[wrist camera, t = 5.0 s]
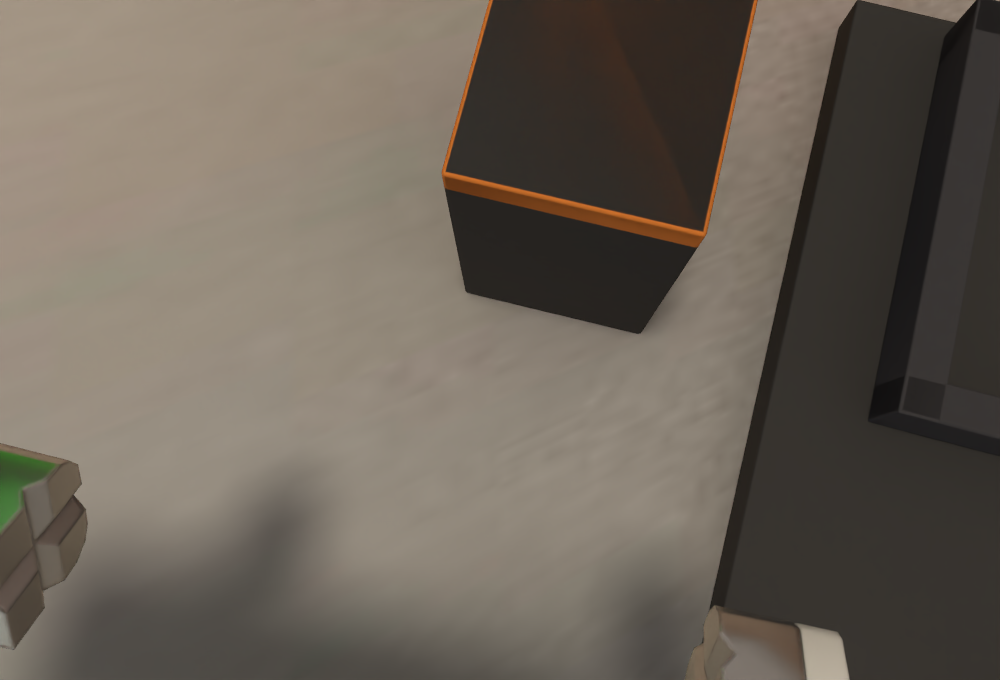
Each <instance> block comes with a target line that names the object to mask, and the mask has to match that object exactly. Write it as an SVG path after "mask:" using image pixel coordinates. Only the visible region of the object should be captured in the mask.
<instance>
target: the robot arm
mask: <svg viewBox="0 0 1000 680" xmlns="http://www.w3.org/2000/svg"><path fill="white" fill-rule="evenodd" d="M81 484H82V482H81V477H80V472H79V467H78V464H76V463H73V462H71V461H69V460H65V459H61V458H57V457H53V456H49V455H45V454H41V453H37V452H33V451H29V450H25V449H21V448H17V447H13V446H9V445H5V444H1V443H0V647H2V648H7V649H12V650H14V649H15V648H16V646H17V645H18V644H19V642H20V641H21V640H22V638H23V637H24V635H25V634H26V633H27V631H28V630H29V629H30V627H31V626H32V624H33V623H34V622H35V620H36V619H37V618H38V616H39V615H40V614H41V612H42V611H43V609H44V608H45V605H44V596H43V591H44V590H46V589H48V588H50V587H52V586H54V585H56V584H58V583H60V582H62V581H64V580H65V579H66V577H67V576H68V575H69V573H70V572H71V570H72V569H73V567H74V566H75V564H76V563H77V561H78V558H79V556H80V553H81V551H82V548H83V546H84V543H85V541H86V533H87V524H88V522H87V515H86V509H85V508H84V507H83V505H82V504H81V503H80V502H79V501H78V500H77V498H76V497H75V496H74V495H73V494H74V493H75V492H76V491H77V489H78V488H79V487H80V485H81ZM685 680H850V679H849V673H848V668H847V662H846V656H845V651H844V645H843V640H842V638H841V637H840V635H839V634H838V632H836V631H831V630H826V629H822V628H817V627H813V626H808V625H804V624H799V623H795V624H794V623H793V622H792V621H787V620H782V619H777V618H773V617H768V616H763V615H759V614H754V613H749V612H745V611H740V610H735V609H731V608H726V607H721V606H717V605H714V606H713V607H712V608H711V610H710V611H709V613H708V615H707V618H706V620H705V622H704V643H703V644H701V645H699V646H697V647H695V648H694V650H693V652H692V655H691V658H690V661H689V663H688V666H687V671H686V675H685Z"/></svg>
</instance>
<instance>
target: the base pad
mask: <svg viewBox="0 0 1000 680" xmlns="http://www.w3.org/2000/svg"><path fill="white" fill-rule="evenodd" d="M714 605H717V606H721V607H726V608H731V609H735V610H740V611H745V612H749V613H754V614H759V615H763V616H768V617H773V618H777V619H782V620H787V621H792V622H793V623H794V624H795V623H799V624H804V625H808V626H813V627H817V628H822V629H826V630H831V631H836V632H838V634H839V635H840V637H841V638H842V640H843V645H844V651H845V656H846V662H847V668H848V673H849V679H850V680H1000V1H995V0H976V1H975V2H974V4H973V5H972V6H971V7H970V8H969V9H968V10H967V11H966V13H965V14H964V15H963V16H962V17H961V18H960V19H959V20H958V22H957V23H955V22H950V21H946V20H942V19H938V18H933V17H929V16H925V15H921V14H916V13H912V12H908V11H904V10H899V9H895V8H891V7H887V6H882V5H878V4H874V3H870V2H865V1H861V0H857V1H856V3H855V4H854V6H853V7H852V9H851V10H850V12H849V14H848V15H847V17H846V18H845V20H844V21H843V23H842V24H841V26H840V27H839V31H838V36H837V40H836V45H835V49H834V54H833V58H832V63H831V67H830V72H829V76H828V81H827V85H826V90H825V94H824V99H823V103H822V108H821V112H820V117H819V121H818V126H817V130H816V135H815V139H814V144H813V148H812V153H811V157H810V162H809V166H808V171H807V175H806V180H805V184H804V189H803V193H802V198H801V202H800V207H799V211H798V216H797V220H796V225H795V229H794V234H793V238H792V243H791V247H790V252H789V256H788V261H787V265H786V270H785V274H784V279H783V283H782V288H781V292H780V297H779V301H778V306H777V310H776V315H775V319H774V324H773V328H772V333H771V337H770V342H769V346H768V351H767V355H766V360H765V364H764V369H763V373H762V378H761V382H760V387H759V391H758V396H757V400H756V405H755V409H754V414H753V418H752V423H751V427H750V432H749V436H748V441H747V445H746V450H745V454H744V459H743V463H742V468H741V472H740V477H739V481H738V486H737V490H736V495H735V499H734V504H733V508H732V513H731V517H730V522H729V526H728V531H727V535H726V540H725V544H724V549H723V553H722V558H721V562H720V567H719V571H718V576H717V580H716V585H715V589H714V594H713V598H712V603H711V607H710V610H711V608H712V607H713V606H714ZM703 643H704V639H703Z"/></svg>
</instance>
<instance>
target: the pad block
mask: <svg viewBox="0 0 1000 680" xmlns="http://www.w3.org/2000/svg"><path fill="white" fill-rule="evenodd" d="M757 1H758V0H489V3H488V7H487V10H486V14H485V18H484V21H483V25H482V28H481V32H480V36H479V39H478V43H477V46H476V50H475V54H474V57H473V61H472V64H471V68H470V72H469V75H468V79H467V82H466V86H465V90H464V93H463V97H462V101H461V104H460V108H459V111H458V115H457V119H456V122H455V126H454V129H453V133H452V137H451V140H450V144H449V147H448V151H447V155H446V158H445V162H444V165H443V169H442V178H443V182H444V187H445V192H446V197H447V202H448V207H449V212H450V216H451V221H452V226H453V231H454V236H455V241H456V246H457V251H458V256H459V261H460V266H461V270H462V275H463V280H464V285H465V290H466V291H467V292H469V293H473V294H477V295H481V296H486V297H490V298H494V299H498V300H502V301H506V302H510V303H515V304H519V305H523V306H527V307H531V308H535V309H539V310H543V311H548V312H552V313H556V314H560V315H564V316H568V317H572V318H577V319H581V320H585V321H589V322H593V323H597V324H601V325H606V326H610V327H614V328H618V329H622V330H626V331H630V332H635V333H641V332H642V330H643V329H644V327H645V326H646V324H647V323H648V321H649V320H650V318H651V317H652V315H653V314H654V312H655V311H656V309H657V308H658V306H659V305H660V303H661V302H662V300H663V299H664V297H665V296H666V294H667V293H668V291H669V290H670V288H671V287H672V285H673V284H674V282H675V281H676V279H677V278H678V276H679V275H680V273H681V272H682V270H683V269H684V267H685V266H686V264H687V263H688V261H689V260H690V258H691V257H692V255H693V254H694V252H695V251H696V249H697V248H698V246H699V245H700V243H701V242H702V240H703V239H704V237H705V236H706V234H707V229H708V225H709V220H710V216H711V211H712V207H713V202H714V197H715V193H716V188H717V184H718V179H719V175H720V170H721V165H722V161H723V156H724V152H725V147H726V143H727V138H728V133H729V129H730V124H731V120H732V115H733V111H734V106H735V101H736V97H737V92H738V88H739V83H740V79H741V74H742V69H743V65H744V60H745V56H746V51H747V47H748V42H749V37H750V33H751V28H752V24H753V19H754V15H755V10H756V6H757Z"/></svg>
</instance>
